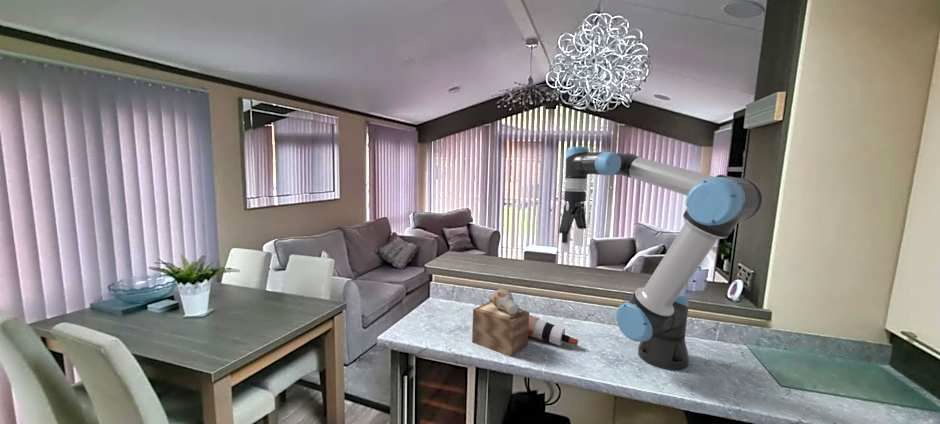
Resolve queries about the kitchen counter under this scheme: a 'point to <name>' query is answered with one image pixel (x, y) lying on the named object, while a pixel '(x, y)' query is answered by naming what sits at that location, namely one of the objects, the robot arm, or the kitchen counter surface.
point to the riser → (500, 329)
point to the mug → (505, 301)
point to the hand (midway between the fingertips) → (572, 248)
